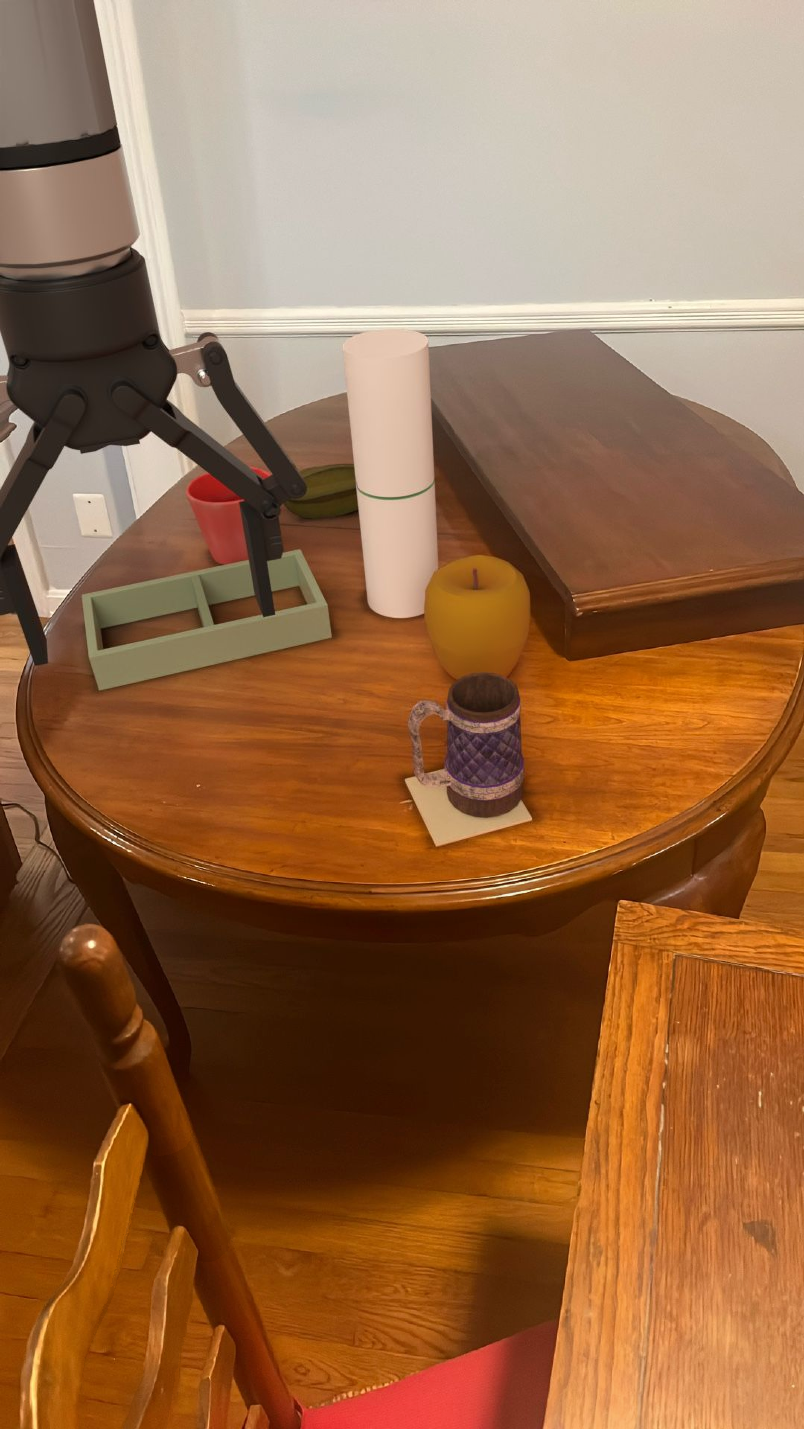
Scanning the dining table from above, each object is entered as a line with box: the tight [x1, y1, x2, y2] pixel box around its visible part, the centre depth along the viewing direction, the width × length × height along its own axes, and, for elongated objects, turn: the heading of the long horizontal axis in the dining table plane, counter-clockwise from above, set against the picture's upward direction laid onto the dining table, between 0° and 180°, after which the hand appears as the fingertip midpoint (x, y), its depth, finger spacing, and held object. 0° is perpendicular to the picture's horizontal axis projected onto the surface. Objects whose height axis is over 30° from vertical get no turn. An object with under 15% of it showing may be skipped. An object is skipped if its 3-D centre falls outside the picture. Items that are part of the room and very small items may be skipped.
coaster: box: [404, 768, 533, 848], centre depth 90 cm, size 9×9×1 cm
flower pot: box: [185, 466, 272, 565], centre depth 126 cm, size 11×11×10 cm
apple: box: [423, 554, 531, 681], centre depth 102 cm, size 11×11×13 cm
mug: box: [407, 672, 525, 818], centre depth 86 cm, size 10×7×12 cm
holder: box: [81, 548, 333, 691], centre depth 113 cm, size 26×14×4 cm, turn 107°
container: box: [342, 328, 439, 619], centre depth 108 cm, size 9×9×30 cm
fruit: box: [282, 463, 359, 520], centre depth 134 cm, size 11×12×7 cm
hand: (155, 628), depth 61 cm, fingers open, 13 cm apart
